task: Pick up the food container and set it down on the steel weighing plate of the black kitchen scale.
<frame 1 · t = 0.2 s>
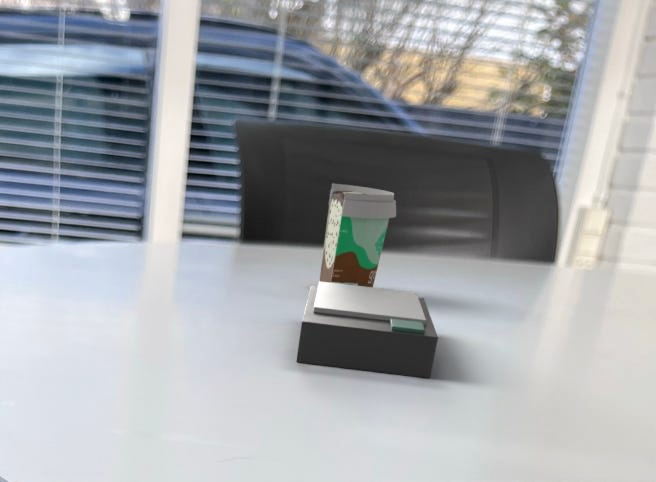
scale: (362, 346, 87), on the table
food container: (352, 295, 111), on the table
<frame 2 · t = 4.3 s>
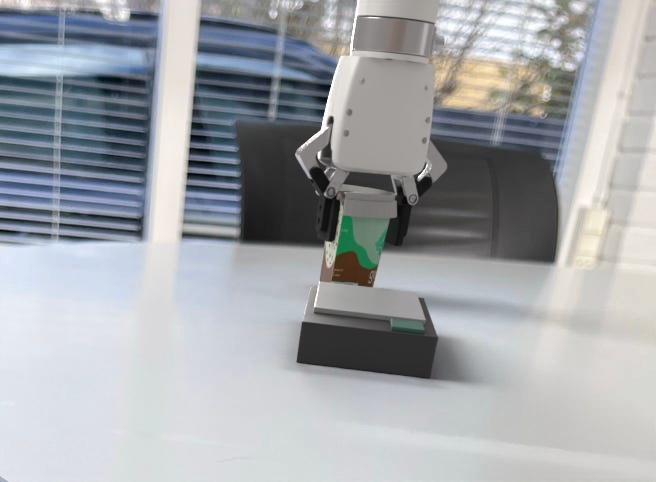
hand: (359, 240, 108), 5 cm above the table, tool pointing down, fingers closed on food container, 6 cm apart
food container: (352, 295, 111), on the table, touching gripper
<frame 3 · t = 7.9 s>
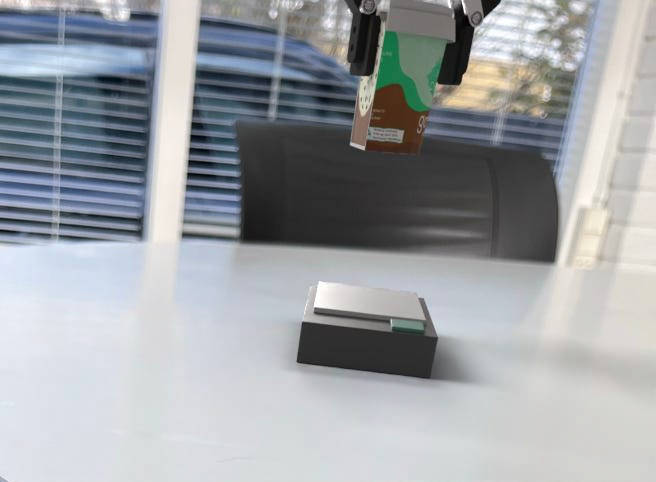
hand: (404, 78, 83), 20 cm above the table, tool pointing down, fingers closed on food container, 6 cm apart
food container: (394, 154, 85), point 14 cm above the table, touching gripper
when the fingers open (9 cm above the table, at t = 11.5 s): food container stays where it is, resting on scale.
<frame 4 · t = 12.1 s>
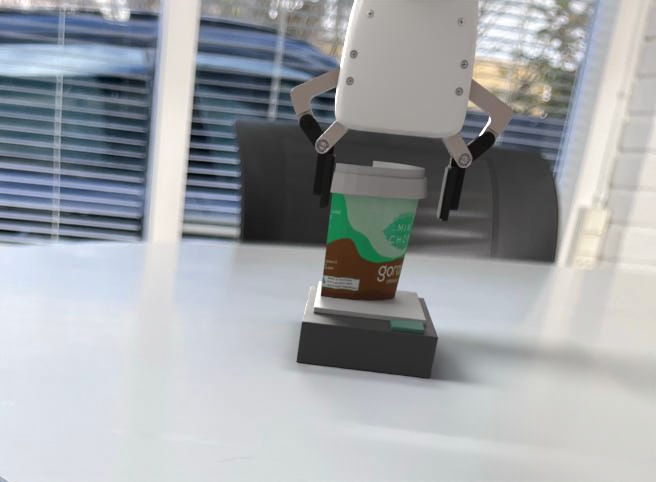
hand: (382, 213, 86), 10 cm above the table, tool pointing down, fingers open, 9 cm apart
food container: (371, 297, 89), point 3 cm above the table, touching scale
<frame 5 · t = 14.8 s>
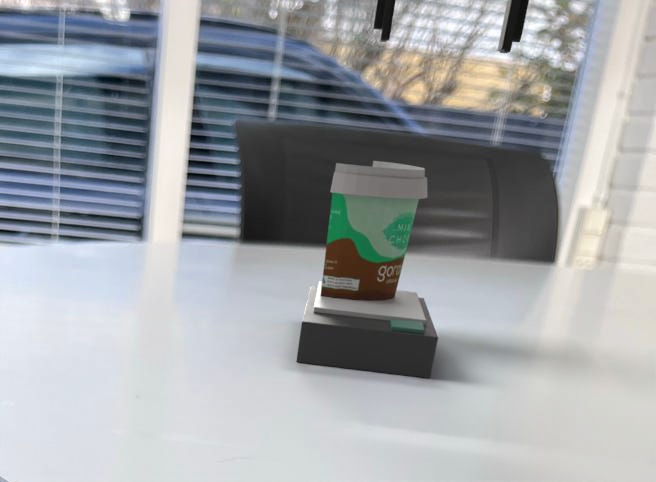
hand: (443, 46, 86), 22 cm above the table, tool pointing down, fingers open, 9 cm apart
nothing on the table moved.
at the end: food container 0.4 cm from the target spot on the scale, point 3.2 cm above the scale's base; food container tilted 0°; the gripper is holding nothing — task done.
